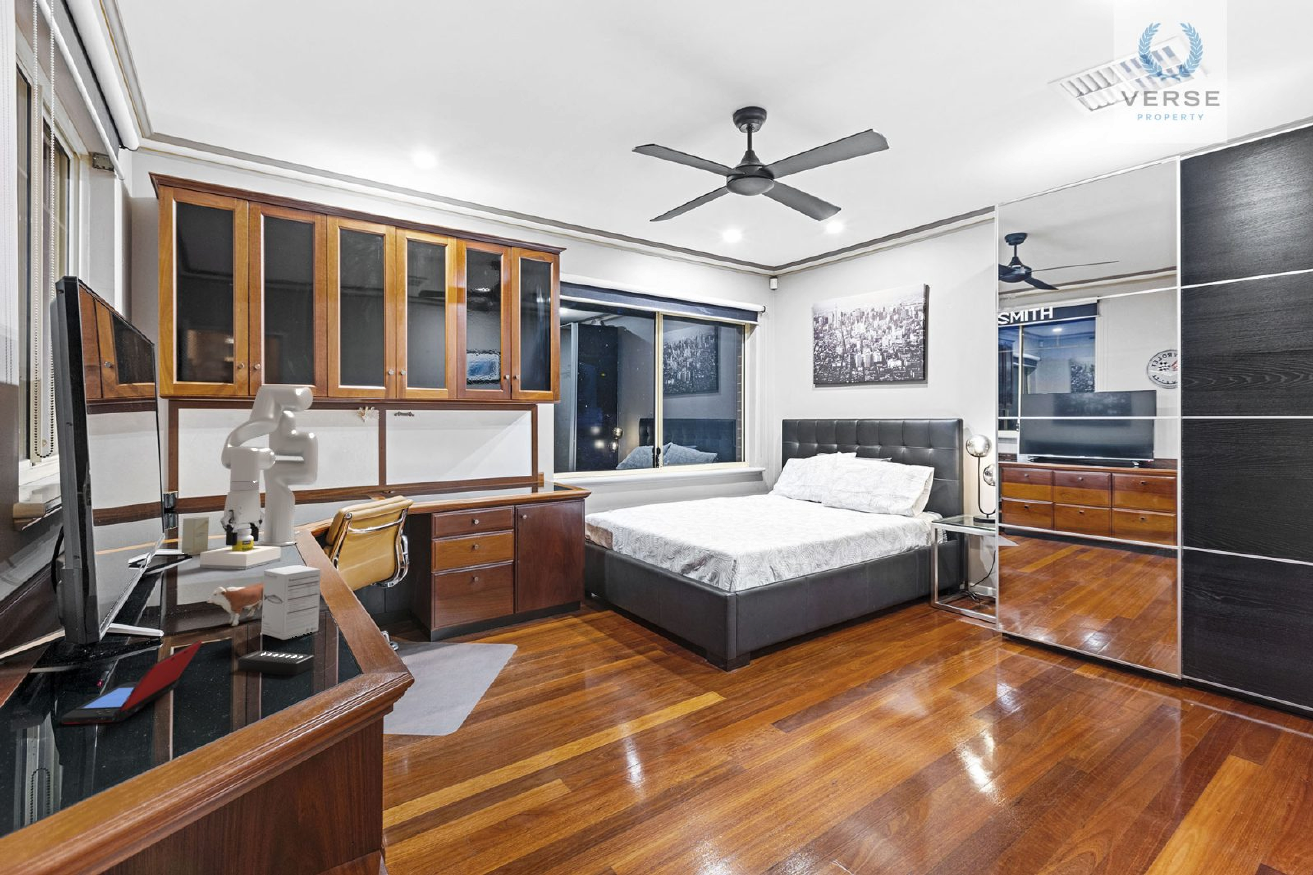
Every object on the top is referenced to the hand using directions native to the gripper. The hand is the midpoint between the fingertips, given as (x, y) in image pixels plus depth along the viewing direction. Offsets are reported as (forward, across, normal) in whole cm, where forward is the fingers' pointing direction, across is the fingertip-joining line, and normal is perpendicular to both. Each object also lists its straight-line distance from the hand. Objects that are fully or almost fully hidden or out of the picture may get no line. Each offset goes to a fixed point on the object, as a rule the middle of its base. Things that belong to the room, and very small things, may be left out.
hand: (242, 543), depth 186 cm
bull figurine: (+7, +57, +46) cm, 74 cm away
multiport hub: (+7, +81, +72) cm, 109 cm away
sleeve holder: (+7, 0, 0) cm, 7 cm away
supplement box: (+7, +63, +61) cm, 88 cm away
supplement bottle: (+6, 0, 0) cm, 6 cm away
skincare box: (+7, -14, -28) cm, 32 cm away
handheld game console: (+7, +97, +62) cm, 115 cm away
